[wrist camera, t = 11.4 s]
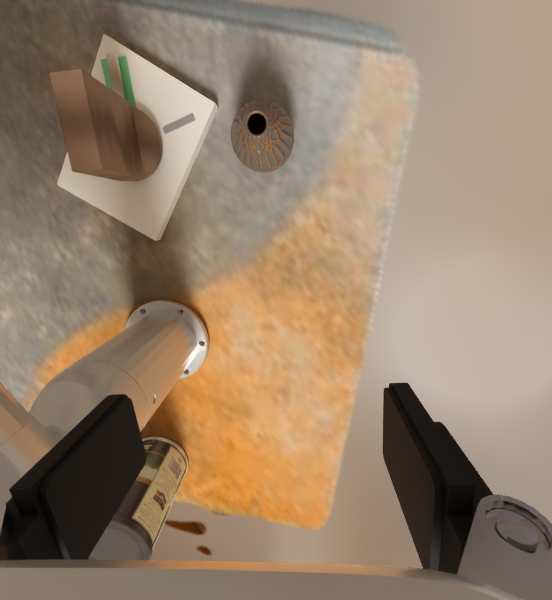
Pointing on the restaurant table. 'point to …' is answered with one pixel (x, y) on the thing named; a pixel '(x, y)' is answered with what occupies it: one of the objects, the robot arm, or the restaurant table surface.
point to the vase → (262, 135)
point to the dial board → (174, 134)
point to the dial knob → (105, 126)
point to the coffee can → (144, 504)
